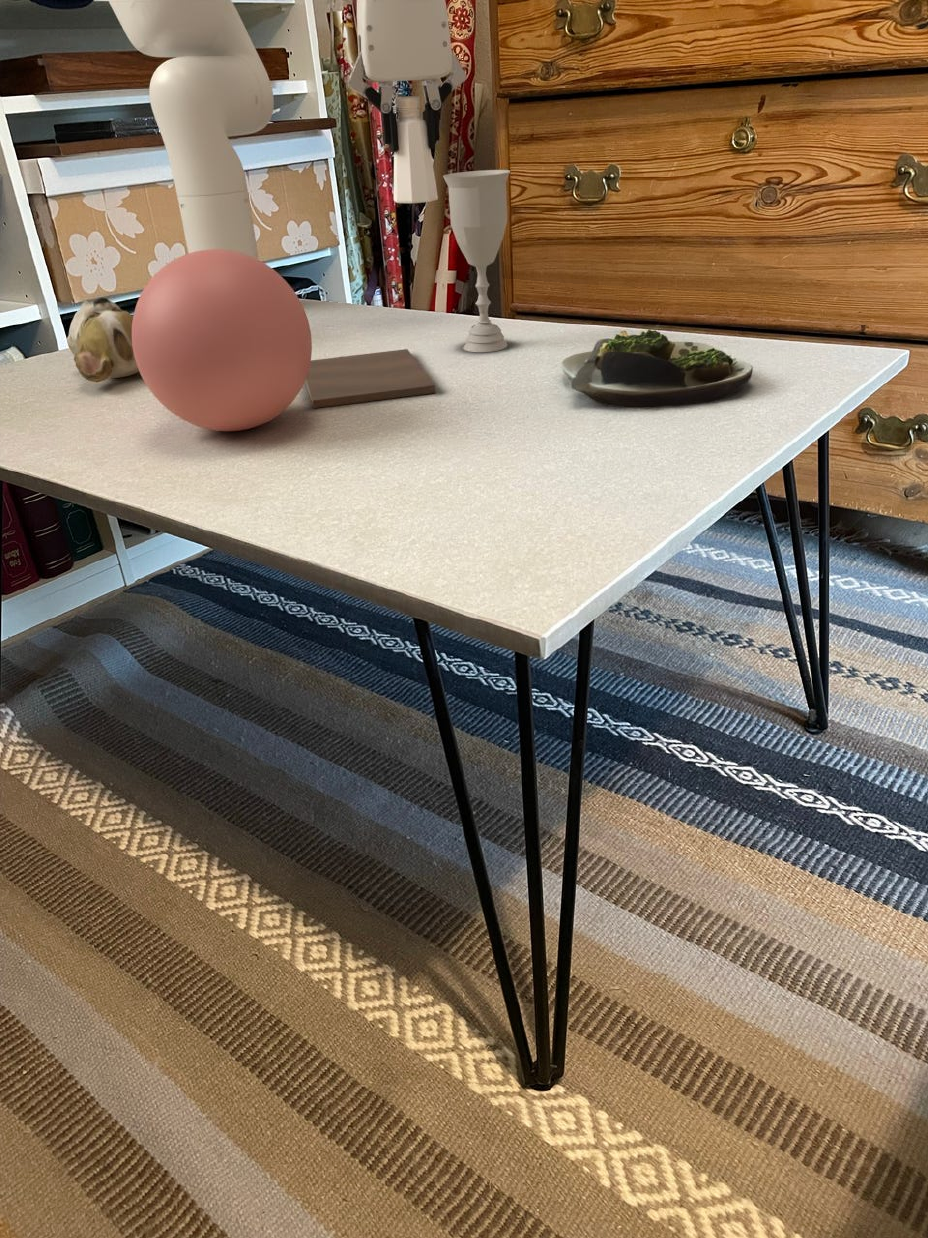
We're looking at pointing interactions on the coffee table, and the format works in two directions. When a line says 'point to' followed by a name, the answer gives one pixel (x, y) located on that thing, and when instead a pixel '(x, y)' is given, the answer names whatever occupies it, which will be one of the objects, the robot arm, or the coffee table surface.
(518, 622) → the coffee table surface
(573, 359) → the salad plate
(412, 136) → the pepper shaker
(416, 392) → the walnut board
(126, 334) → the ceramic sculpture
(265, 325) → the balloon
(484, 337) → the chalice
